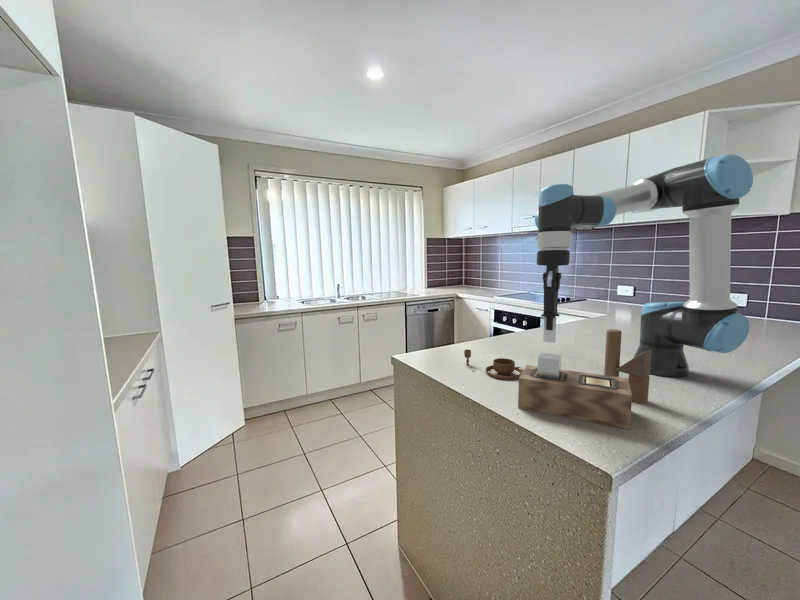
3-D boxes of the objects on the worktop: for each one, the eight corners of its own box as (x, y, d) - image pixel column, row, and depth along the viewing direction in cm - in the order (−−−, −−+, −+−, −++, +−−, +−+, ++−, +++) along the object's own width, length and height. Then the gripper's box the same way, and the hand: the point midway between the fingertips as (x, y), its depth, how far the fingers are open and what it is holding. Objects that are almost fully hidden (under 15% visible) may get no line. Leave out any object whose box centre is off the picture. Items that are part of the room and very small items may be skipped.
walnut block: (625, 408, 85) (627, 377, 84) (629, 429, 74) (632, 394, 73) (526, 391, 97) (526, 364, 96) (518, 407, 86) (518, 377, 85)
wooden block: (641, 404, 87) (646, 337, 85) (599, 390, 96) (603, 329, 94) (648, 401, 89) (653, 335, 86) (607, 388, 98) (610, 328, 96)
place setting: (489, 384, 104) (489, 366, 103) (461, 365, 123) (461, 349, 123) (537, 378, 109) (537, 360, 108) (502, 360, 128) (503, 345, 127)
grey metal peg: (560, 380, 88) (561, 355, 88) (558, 386, 84) (559, 360, 83) (539, 377, 91) (540, 352, 90) (537, 383, 87) (538, 357, 86)
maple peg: (607, 407, 84) (609, 380, 83) (608, 415, 79) (610, 387, 78) (585, 403, 86) (586, 377, 85) (584, 411, 82) (585, 383, 81)
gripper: (540, 250, 91) (537, 335, 94) (533, 249, 80) (529, 345, 83) (571, 249, 87) (567, 338, 90) (568, 248, 76) (563, 349, 79)
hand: (549, 341), depth 86 cm, fingers closed
